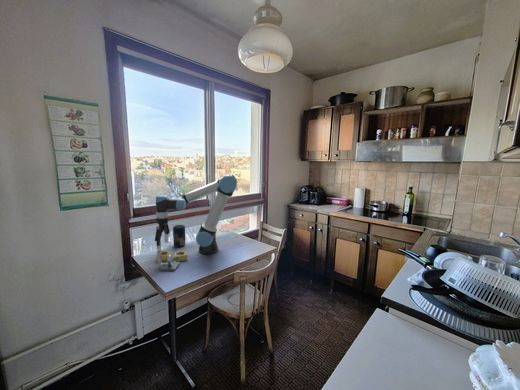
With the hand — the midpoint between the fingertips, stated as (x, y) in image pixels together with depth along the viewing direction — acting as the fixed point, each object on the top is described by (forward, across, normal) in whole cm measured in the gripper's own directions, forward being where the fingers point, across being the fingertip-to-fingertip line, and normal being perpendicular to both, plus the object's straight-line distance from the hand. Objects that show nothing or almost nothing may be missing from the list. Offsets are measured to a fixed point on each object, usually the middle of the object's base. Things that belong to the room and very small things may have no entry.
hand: (162, 246), depth 159 cm
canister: (+10, -25, +4) cm, 27 cm away
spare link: (+9, 0, +13) cm, 16 cm away
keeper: (+10, +13, +8) cm, 18 cm away
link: (+10, 0, +1) cm, 10 cm away
